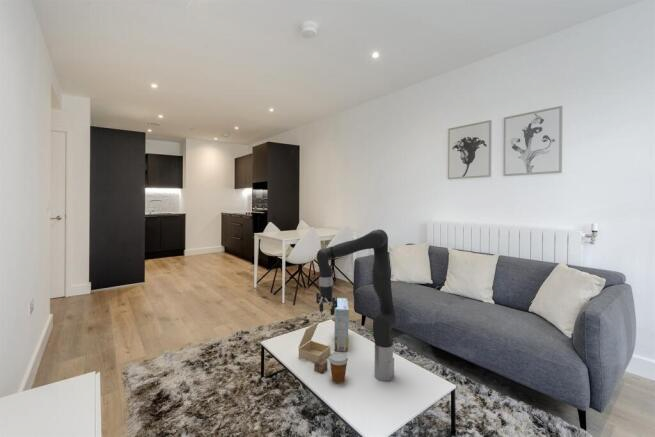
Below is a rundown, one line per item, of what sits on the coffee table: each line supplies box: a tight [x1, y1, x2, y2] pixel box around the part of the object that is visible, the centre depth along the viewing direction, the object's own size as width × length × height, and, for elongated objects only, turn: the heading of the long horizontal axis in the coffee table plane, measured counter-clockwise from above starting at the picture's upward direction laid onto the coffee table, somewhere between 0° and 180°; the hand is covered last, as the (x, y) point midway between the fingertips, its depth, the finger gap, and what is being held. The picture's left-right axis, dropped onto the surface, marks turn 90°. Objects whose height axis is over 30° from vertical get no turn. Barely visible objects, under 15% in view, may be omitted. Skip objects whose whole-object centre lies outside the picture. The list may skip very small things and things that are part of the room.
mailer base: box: [298, 340, 332, 364], centre depth 175 cm, size 14×12×5 cm
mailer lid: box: [298, 320, 320, 349], centre depth 177 cm, size 14×12×1 cm
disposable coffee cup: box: [328, 351, 349, 384], centre depth 153 cm, size 10×10×12 cm
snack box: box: [334, 297, 350, 352], centre depth 191 cm, size 22×9×26 cm, turn 179°
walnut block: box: [313, 358, 328, 375], centre depth 161 cm, size 5×5×5 cm
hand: (326, 313), depth 169 cm, fingers open, 8 cm apart
